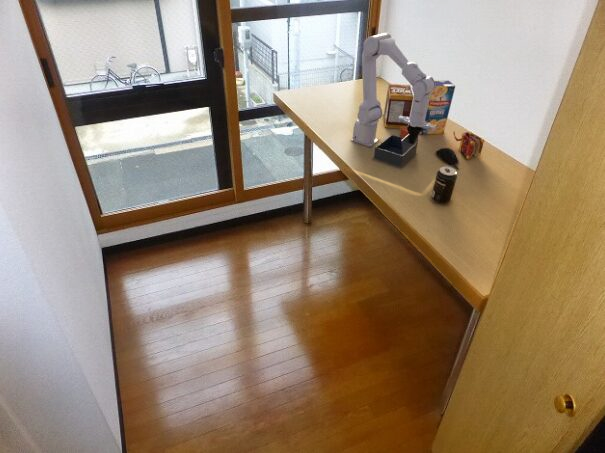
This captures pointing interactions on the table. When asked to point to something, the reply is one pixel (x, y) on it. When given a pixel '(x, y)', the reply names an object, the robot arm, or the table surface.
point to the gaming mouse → (447, 156)
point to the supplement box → (397, 105)
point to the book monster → (470, 144)
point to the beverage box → (439, 106)
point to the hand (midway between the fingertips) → (412, 143)
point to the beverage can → (444, 185)
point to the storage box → (393, 151)
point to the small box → (404, 132)
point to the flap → (407, 144)
